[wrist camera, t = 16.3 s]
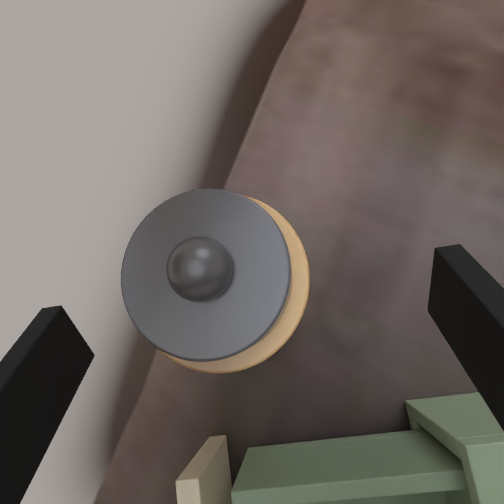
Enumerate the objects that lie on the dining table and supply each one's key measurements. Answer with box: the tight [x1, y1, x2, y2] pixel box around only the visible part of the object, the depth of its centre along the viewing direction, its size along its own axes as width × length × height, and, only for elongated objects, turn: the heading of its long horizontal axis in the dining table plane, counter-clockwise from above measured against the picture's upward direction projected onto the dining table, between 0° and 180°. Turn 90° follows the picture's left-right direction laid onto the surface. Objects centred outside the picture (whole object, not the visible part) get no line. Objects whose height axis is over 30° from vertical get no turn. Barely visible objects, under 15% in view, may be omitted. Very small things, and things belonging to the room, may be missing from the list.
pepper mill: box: [121, 189, 310, 374], centre depth 16 cm, size 5×5×18 cm
